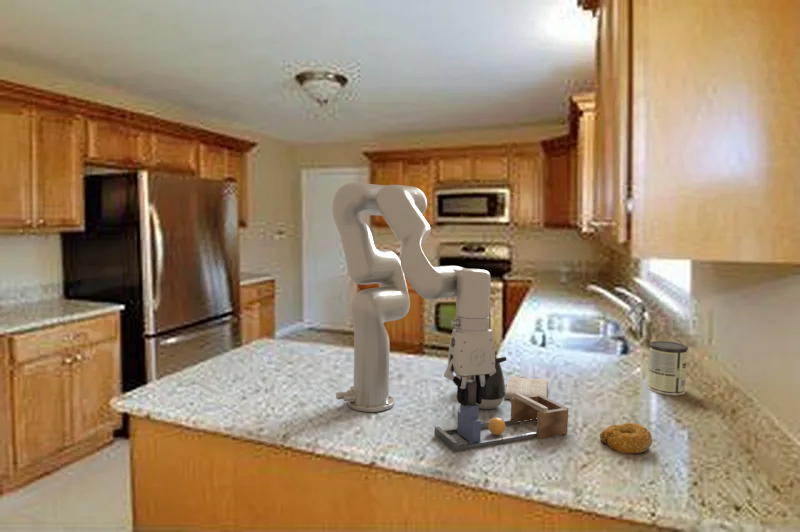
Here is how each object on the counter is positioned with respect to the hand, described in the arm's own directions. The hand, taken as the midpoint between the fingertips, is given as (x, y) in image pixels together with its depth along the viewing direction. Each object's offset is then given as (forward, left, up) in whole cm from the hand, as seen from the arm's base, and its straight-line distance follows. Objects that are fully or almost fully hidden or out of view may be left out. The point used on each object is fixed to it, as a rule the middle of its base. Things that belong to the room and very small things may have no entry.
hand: (469, 402), depth 116 cm
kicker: (0, 0, -9) cm, 9 cm away
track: (+5, 0, -9) cm, 10 cm away
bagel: (+32, -15, -9) cm, 37 cm away
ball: (+8, 0, -7) cm, 10 cm away
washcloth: (+34, +23, -10) cm, 42 cm away
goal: (+20, 0, -9) cm, 22 cm away
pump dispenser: (+16, +17, -9) cm, 25 cm away
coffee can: (+76, +10, -9) cm, 77 cm away
